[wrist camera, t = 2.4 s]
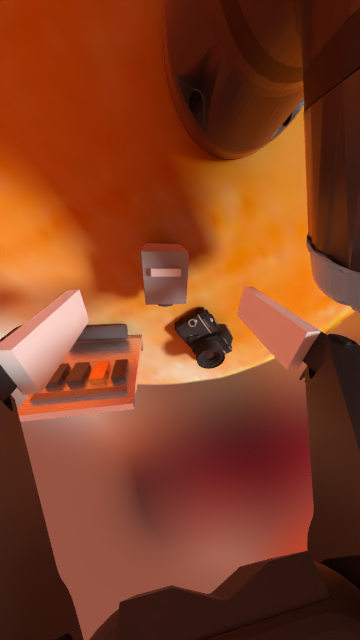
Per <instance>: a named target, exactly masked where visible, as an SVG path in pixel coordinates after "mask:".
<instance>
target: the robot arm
mask: <svg viewBox="0 0 360 640" xmlns="http://www.w3.org/2000/svg"><path fill="white" fill-rule="evenodd" d="M163 42H164V57H165V66H166V72H167V78H168V83H169V87H170V91H171V95H172V98H173V101H174V104H175V107H176V109H177V112H178V114H179V116H180V119H181V121H182V123H183V124H184V126H185V128H186V130H187V131H188V132H189V134H190V135H191V137H192V138H193V139H194V140H195V141H196V143H197V144H198V145H200V146H201V147H202V148H203V149H204V150H206V151H207V152H209V153H210V154H212V155H214V156H217V157H220V158H224V159H238V158H243V157H246V156H249V155H251V154H253V153H255V152H257V151H258V150H260V149H261V148H262V147H264V146H265V145H267V144H268V143H270V142H271V141H272V140H274V139H275V138H276V137H277V136H278V135H279V134H280V133H281V132H282V131H283V130H284V129H285V128H286V127H287V126H288V125H289V124H290V123H291V122H292V120H293V119H294V118H295V117H296V115H297V114H298V112H299V111H300V110H301V108H302V107H303V105H304V133H305V159H306V184H307V209H308V234H307V245H306V246H307V248H308V251H309V252H310V256H311V265H312V274H313V278H314V280H315V282H316V284H317V286H318V287H319V288H320V289H321V291H322V292H323V293H324V294H326V295H327V296H328V297H329V298H331V299H332V300H334V301H336V302H338V303H340V304H344V305H348V306H351V307H352V309H353V310H354V311H356V312H359V313H360V0H164V21H163ZM237 315H238V317H239V318H240V319H241V320H242V321H243V322H244V323H245V324H246V325H247V327H248V328H249V329H250V330H251V331H252V332H253V333H254V334H255V335H256V336H257V338H258V339H259V340H260V341H261V342H262V343H263V344H264V345H265V346H266V348H267V349H268V350H269V351H270V352H271V353H272V354H273V355H274V356H275V358H276V359H277V360H278V361H279V362H280V363H281V364H282V365H283V366H284V368H285V369H286V370H291V369H298V368H299V367H300V365H301V363H302V362H304V363H306V364H307V367H306V368H305V370H304V371H303V373H302V375H301V376H300V380H302V378H304V377H305V383H306V398H307V413H308V428H309V441H310V442H309V443H310V457H311V473H312V488H313V503H314V513H313V518H312V521H311V524H310V527H309V531H308V541H307V542H308V543H307V548H308V551H304V552H299V553H295V554H290V555H285V556H280V557H275V558H271V559H267V560H263V561H259V562H256V563H252V564H248V565H245V566H241V567H239V568H238V569H237V570H236V571H235V572H234V573H233V574H232V575H231V576H229V577H228V578H227V579H226V580H225V581H224V582H223V583H222V584H221V585H220V586H219V587H217V588H216V589H215V590H214V591H213V592H212V593H210V594H205V593H201V592H196V591H192V590H188V589H184V588H180V587H176V586H167V587H164V588H160V589H156V590H153V591H150V592H145V593H142V594H138V595H135V596H133V597H130V598H128V599H126V600H124V601H122V602H120V605H119V609H118V610H117V611H115V612H114V613H113V614H112V615H111V616H110V617H109V618H108V619H107V620H106V621H105V622H104V623H103V624H102V625H101V626H100V627H99V628H98V629H97V631H96V632H95V633H94V634H93V636H92V637H91V638H90V640H360V346H359V345H358V344H357V343H356V342H355V341H353V340H351V339H349V338H347V337H344V336H341V335H337V334H328V335H326V334H324V333H323V332H321V331H320V330H318V329H317V328H315V327H314V326H312V325H311V324H309V323H308V322H306V321H304V320H303V319H301V318H300V317H298V316H297V315H295V314H294V313H292V312H291V311H289V310H288V309H286V308H284V307H283V306H281V305H280V304H278V303H277V302H275V301H274V300H272V299H271V298H269V297H267V296H266V295H264V294H263V293H261V292H260V291H258V290H257V289H255V288H254V287H244V290H243V293H242V297H241V301H240V305H239V309H238V313H237ZM88 322H89V319H88V316H87V312H86V309H85V306H84V303H83V299H82V296H81V293H80V290H67V291H66V292H65V293H63V294H62V295H61V296H59V297H58V298H57V299H56V300H54V301H53V302H52V303H50V304H49V305H48V306H47V307H45V308H44V309H43V310H41V311H40V312H39V313H37V314H36V315H35V316H34V317H32V318H31V319H30V320H28V321H27V322H26V323H25V324H23V325H21V326H19V327H17V328H15V329H13V330H12V331H11V332H9V333H8V334H7V335H5V336H4V337H3V338H1V339H0V640H84V639H83V636H82V632H81V629H80V625H79V621H78V617H77V614H76V611H75V607H74V603H73V600H72V597H71V595H70V593H69V591H68V589H67V587H66V585H65V584H64V582H63V581H62V579H61V577H60V575H59V573H58V570H57V566H56V563H55V559H54V555H53V551H52V547H51V543H50V539H49V535H48V531H47V527H46V523H45V519H44V515H43V511H42V507H41V503H40V499H39V495H38V491H37V487H36V483H35V479H34V475H33V471H32V467H31V463H30V459H29V455H28V451H27V447H26V443H25V439H24V435H23V431H22V427H21V423H20V419H19V415H18V411H17V407H16V403H15V399H14V398H13V397H12V396H11V394H12V392H13V391H14V390H15V389H16V388H18V389H19V390H20V392H22V394H23V395H29V394H40V393H42V391H43V390H44V388H45V387H46V385H47V384H48V382H49V381H50V379H51V378H52V376H53V375H54V373H55V372H56V370H57V369H58V367H59V366H60V364H61V363H62V361H63V360H64V358H65V357H66V355H67V354H68V352H69V351H70V349H71V348H72V346H73V345H74V343H75V342H76V340H77V339H78V337H79V336H80V334H81V333H82V331H83V330H84V328H85V327H86V325H87V324H88Z"/></svg>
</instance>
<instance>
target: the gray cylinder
mask: <svg viewBox="0 0 360 640" xmlns="http://www.w3.org/2000/svg"><path fill="white" fill-rule="evenodd" d="M112 338H127V325H104V326H86V327H85V328H84V330H83V331H82V333H81V334H80V336H79V337H78V339H77V340H93V339H112Z"/></svg>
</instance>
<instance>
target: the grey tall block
mask: <svg viewBox="0 0 360 640" xmlns="http://www.w3.org/2000/svg"><path fill="white" fill-rule="evenodd" d="M141 257H142V269H143V280H144V292H145V303H146V305H149V304H157V305H159V306H163V307H167V306H171V305H173V304H186V295H187V278H188V261H189V252H188V251H187V250H186V249H185V248H183V247H182V246H181V245H180V244H164V243H145V244H144V246H143V249H142V251H141Z"/></svg>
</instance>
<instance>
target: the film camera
mask: <svg viewBox="0 0 360 640" xmlns="http://www.w3.org/2000/svg"><path fill="white" fill-rule="evenodd" d="M210 317H211V318H210ZM174 325H175V330H176V332H177V333H178V334H179V335H180V337H181V338H182V339H183V340H184V341H185V342H186V343H187V344H188V345H189V346H190V348H191V349H192V351H193V352H194V354H195V355H196V360H197V363H198V365H199V366H201V367H203V368H208V369H209V368H215V367H217V366H219V365H220V364H222V362H223V361H224V359H225V354H227V353H229V352H231V351H232V350H231V349H232V346H231V343H232V339H233V337H232V335H231V333H230V330H229V329H228V327H227V326H226V325H224V324H217V322H216V320H215V318H214V317H213V315H212V314H210V313H209V312H208V310H205V309H204V308H203V307H202V308H200V309H198V310H196V311H195V312H193V313H192V314H190V315H188V316H187V317H185V318H184V319H180V321H179V322H177V323H175V324H174Z"/></svg>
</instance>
